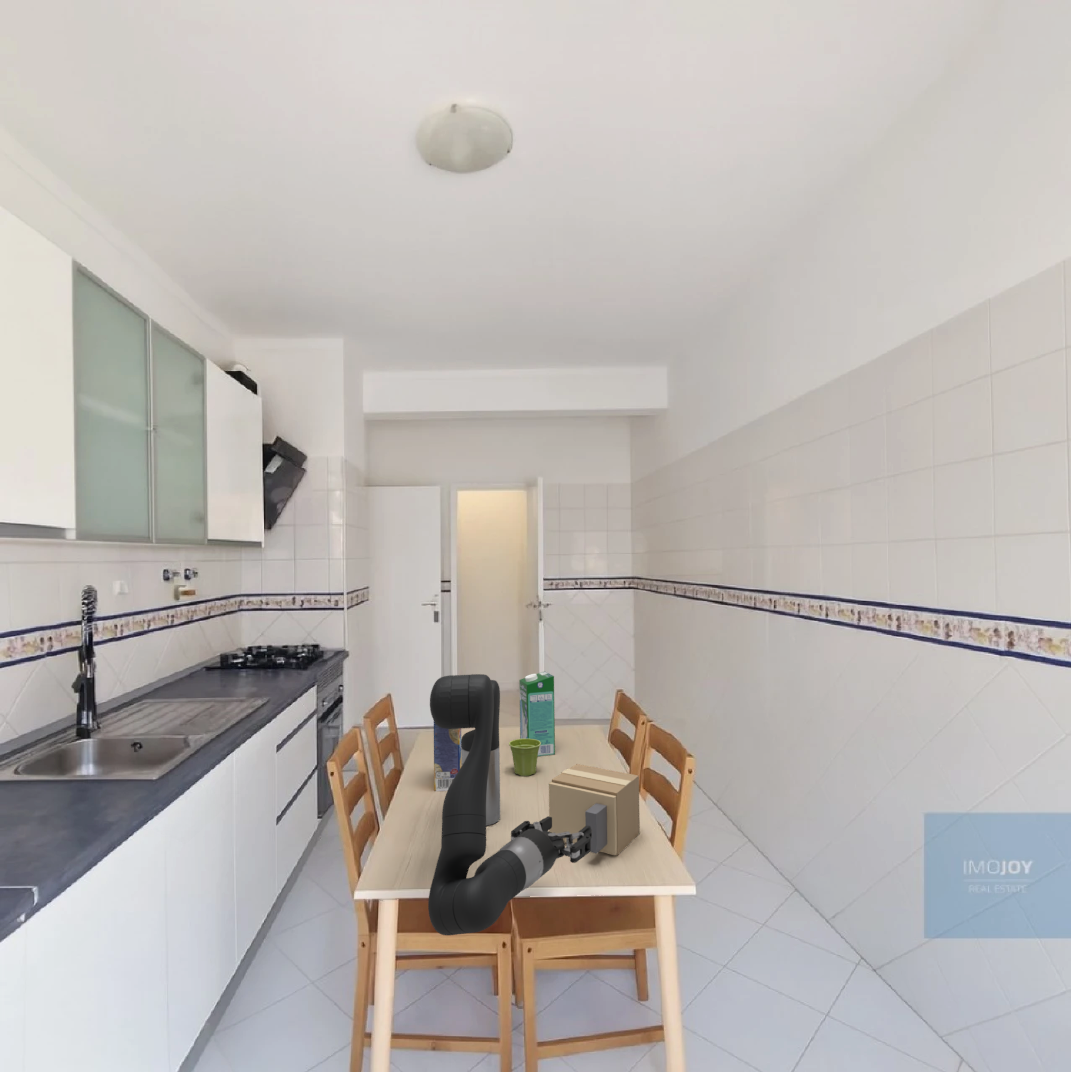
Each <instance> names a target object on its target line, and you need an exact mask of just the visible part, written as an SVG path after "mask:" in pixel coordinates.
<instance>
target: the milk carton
mask: <svg viewBox="0 0 1071 1072" xmlns="http://www.w3.org/2000/svg"><path fill="white" fill-rule="evenodd" d="M518 684H519V739H536V740H539V741H540V742H541V745H540V747H539V750H538V757H544V756H545V757H546V756H552V755H556V740H555V739H556V735H555V734H556V733H555V732H556V731H555V730H556V729H555V728H556V727H555V726H556V725H555V721H556V719H555V676H554V675H553V674H552V673H551V674H550V672H548V671H545V670H544V671H541V672H538V673H531V674H528V675H526V676H525V677H524V678H521V679H519V683H518Z"/></svg>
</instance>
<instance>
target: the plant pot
mask: <svg viewBox="0 0 1071 1072" xmlns="http://www.w3.org/2000/svg"><path fill="white" fill-rule="evenodd" d="M540 745H541V742H540V741H539V740H536V739H520V738H517V739H513V740H511V741H509V742H508V746H509V747H510V750H511V754H512V762H513V769H514V774H515V775H519V776H521V777H529V776H532V775H535V774H536V772H537V763H538V757H539V756H538V750H539V747H540Z"/></svg>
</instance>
